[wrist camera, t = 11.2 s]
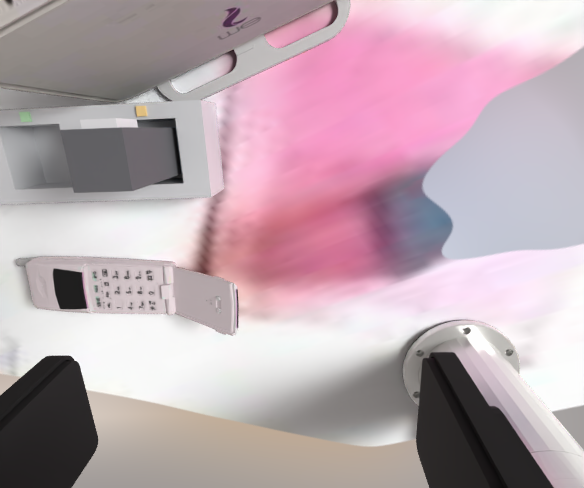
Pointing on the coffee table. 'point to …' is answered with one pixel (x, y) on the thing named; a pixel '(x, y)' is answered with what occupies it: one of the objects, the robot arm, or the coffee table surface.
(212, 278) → the mobile phone
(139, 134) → the plug
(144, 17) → the network device
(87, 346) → the coffee table surface
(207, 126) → the socket block
